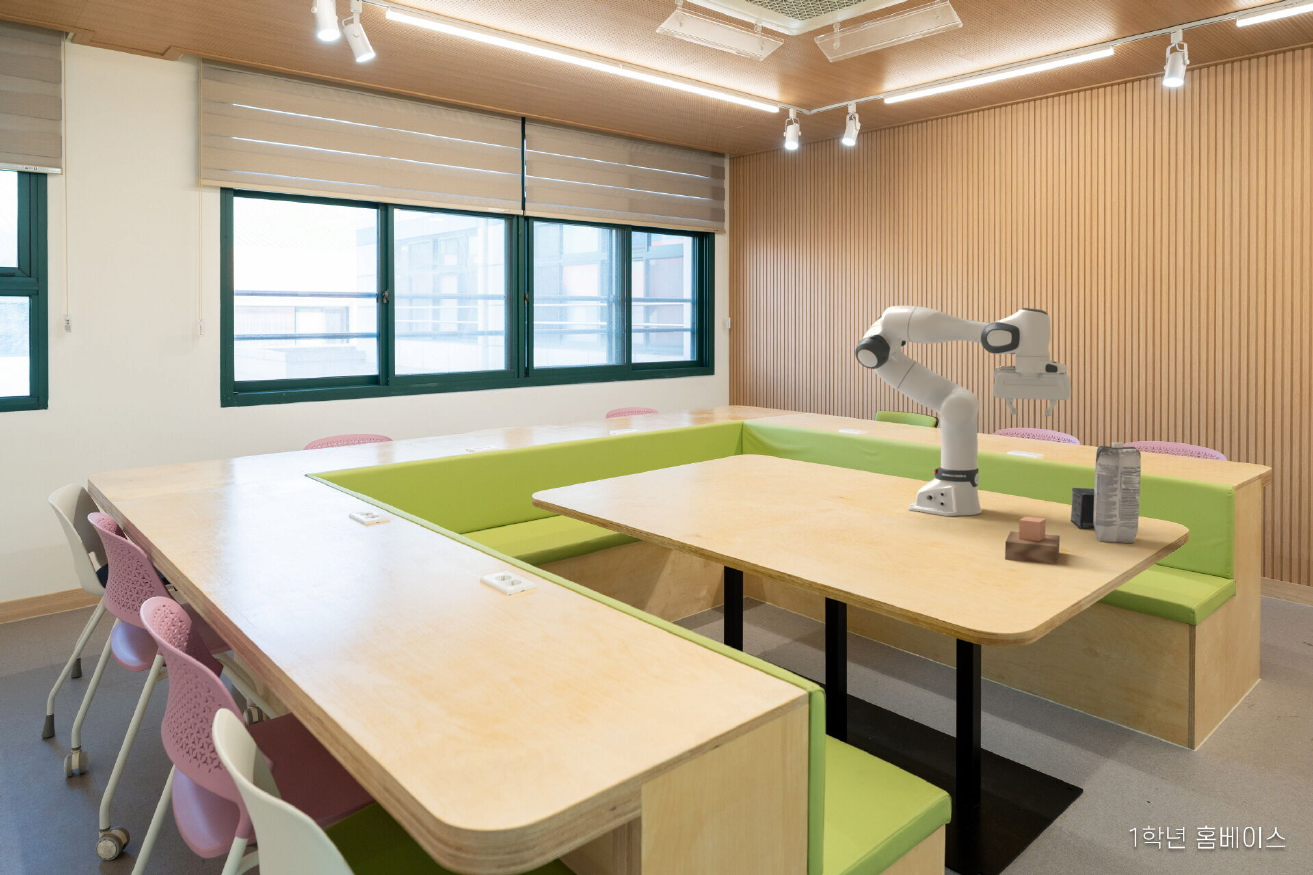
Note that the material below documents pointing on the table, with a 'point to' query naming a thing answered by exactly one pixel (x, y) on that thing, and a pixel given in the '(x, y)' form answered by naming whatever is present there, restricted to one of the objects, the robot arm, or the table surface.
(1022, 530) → the terracotta cube
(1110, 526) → the juice carton
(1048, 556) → the walnut block
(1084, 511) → the small box
